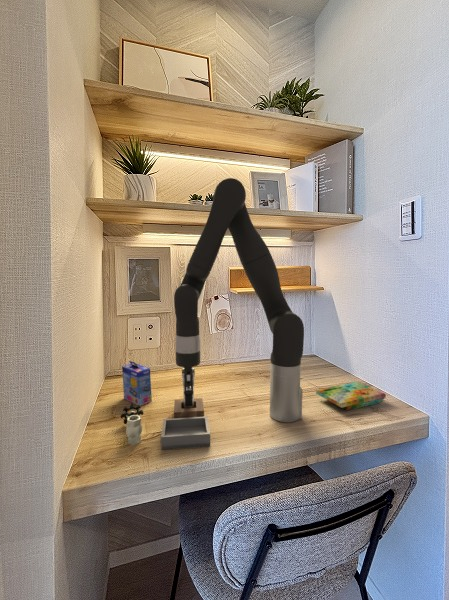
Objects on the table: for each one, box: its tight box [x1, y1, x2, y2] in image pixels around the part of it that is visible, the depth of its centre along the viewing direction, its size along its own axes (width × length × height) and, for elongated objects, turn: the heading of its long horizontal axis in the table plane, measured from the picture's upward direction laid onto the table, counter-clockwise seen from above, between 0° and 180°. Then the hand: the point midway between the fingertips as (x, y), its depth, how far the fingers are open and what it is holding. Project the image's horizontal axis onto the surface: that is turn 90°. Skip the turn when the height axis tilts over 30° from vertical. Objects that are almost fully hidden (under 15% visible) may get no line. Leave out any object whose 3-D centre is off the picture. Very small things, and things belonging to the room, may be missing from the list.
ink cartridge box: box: [121, 360, 153, 407], centre depth 108 cm, size 10×6×14 cm, turn 51°
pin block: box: [173, 397, 205, 419], centre depth 96 cm, size 9×9×4 cm
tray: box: [160, 415, 211, 451], centre depth 84 cm, size 13×10×4 cm
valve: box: [120, 402, 144, 446], centre depth 87 cm, size 7×7×12 cm
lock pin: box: [182, 386, 195, 409], centre depth 96 cm, size 3×3×10 cm
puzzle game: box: [315, 381, 387, 411], centre depth 107 cm, size 12×5×20 cm
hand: (188, 399), depth 96 cm, fingers open, 8 cm apart
